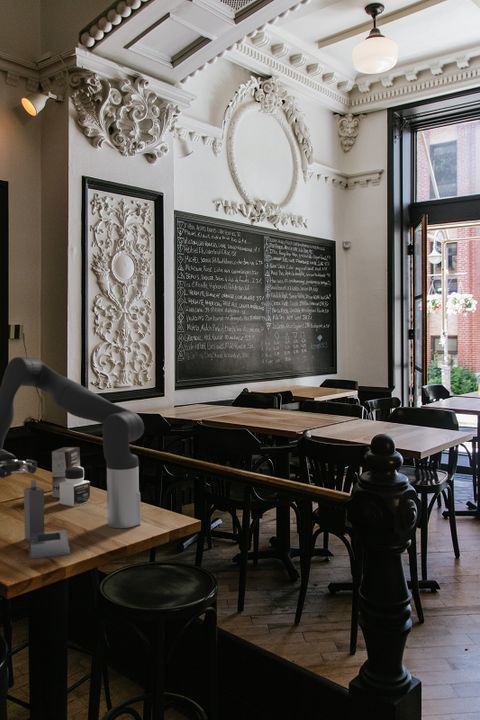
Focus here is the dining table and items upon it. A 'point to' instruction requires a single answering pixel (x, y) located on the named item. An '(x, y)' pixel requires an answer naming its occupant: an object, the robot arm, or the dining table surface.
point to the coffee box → (63, 466)
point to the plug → (33, 510)
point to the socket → (48, 544)
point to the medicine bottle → (74, 487)
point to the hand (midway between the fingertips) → (18, 472)
